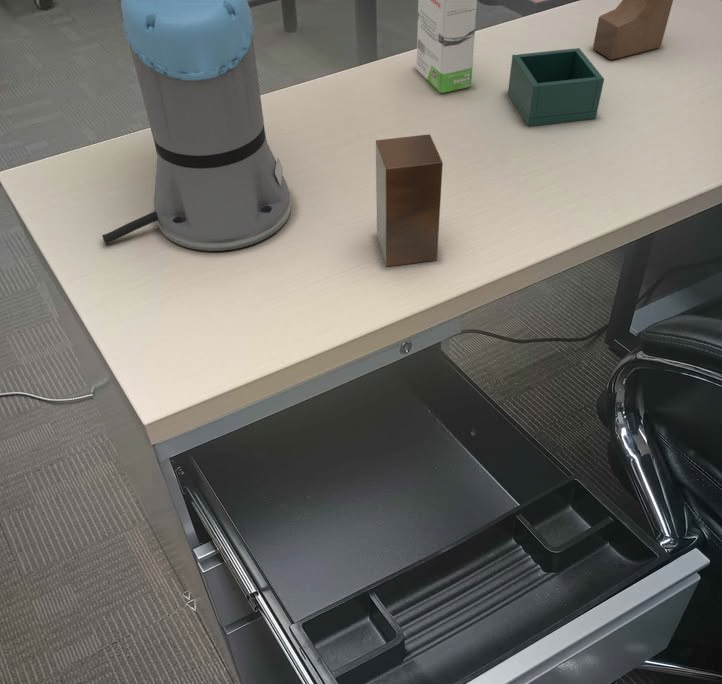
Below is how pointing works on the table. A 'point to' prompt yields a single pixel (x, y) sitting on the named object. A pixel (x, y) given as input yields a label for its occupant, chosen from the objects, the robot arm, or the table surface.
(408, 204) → the post
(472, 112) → the table surface
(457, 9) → the ink box
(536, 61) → the open box
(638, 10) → the wooden block
